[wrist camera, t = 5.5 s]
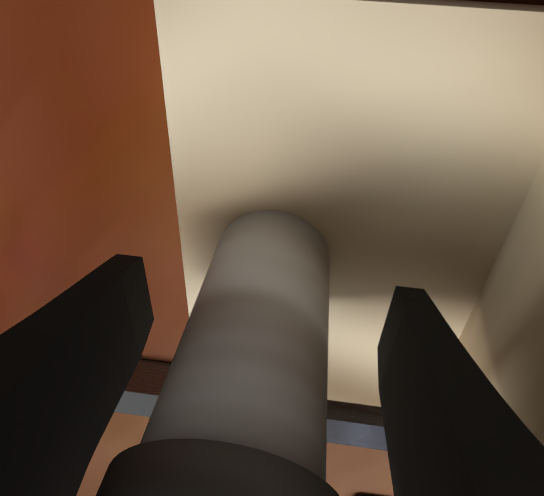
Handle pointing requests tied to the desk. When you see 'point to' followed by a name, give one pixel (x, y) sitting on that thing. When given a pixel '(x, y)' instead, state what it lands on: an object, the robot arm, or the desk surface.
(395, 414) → the robot arm
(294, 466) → the clamp jaw
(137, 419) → the desk surface
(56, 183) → the desk surface
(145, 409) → the grey tray
